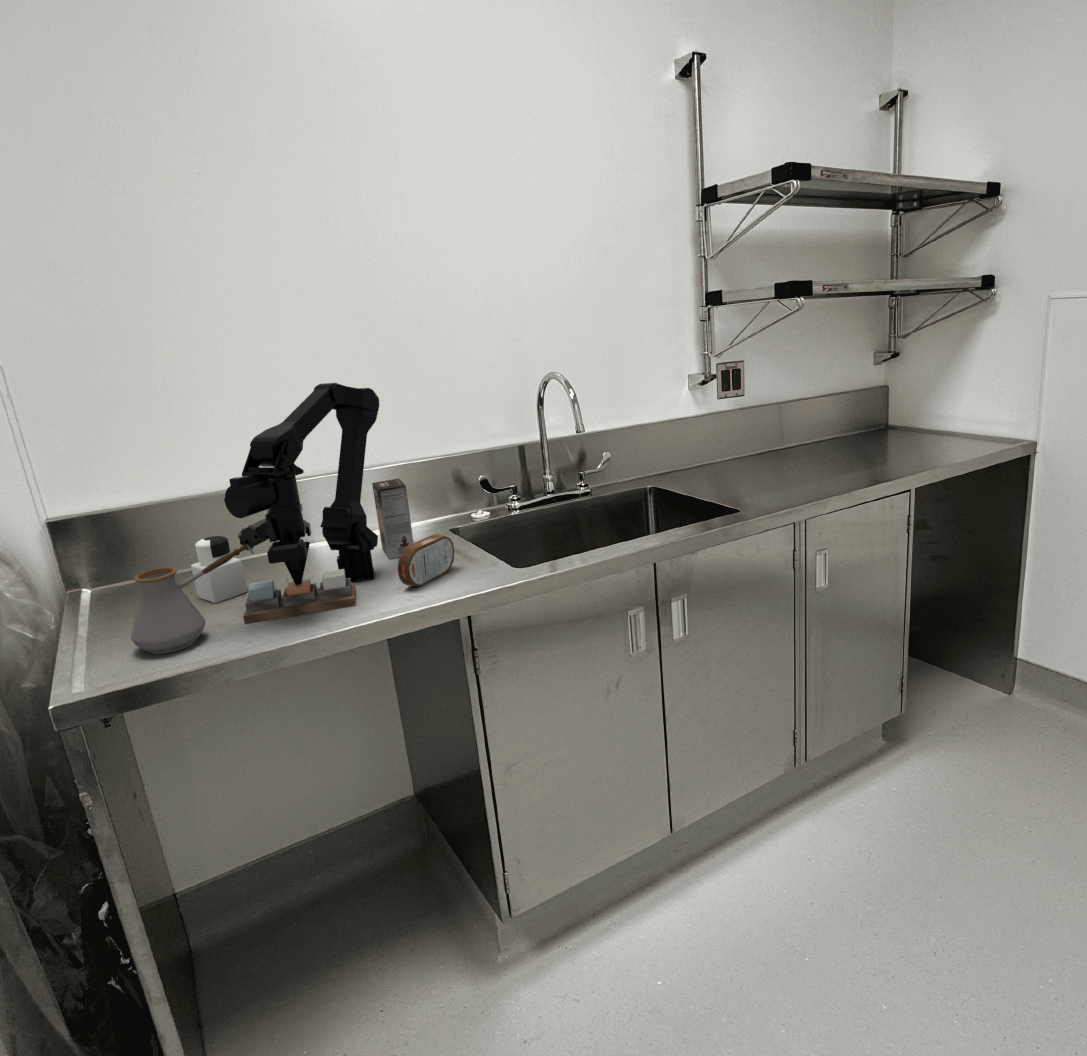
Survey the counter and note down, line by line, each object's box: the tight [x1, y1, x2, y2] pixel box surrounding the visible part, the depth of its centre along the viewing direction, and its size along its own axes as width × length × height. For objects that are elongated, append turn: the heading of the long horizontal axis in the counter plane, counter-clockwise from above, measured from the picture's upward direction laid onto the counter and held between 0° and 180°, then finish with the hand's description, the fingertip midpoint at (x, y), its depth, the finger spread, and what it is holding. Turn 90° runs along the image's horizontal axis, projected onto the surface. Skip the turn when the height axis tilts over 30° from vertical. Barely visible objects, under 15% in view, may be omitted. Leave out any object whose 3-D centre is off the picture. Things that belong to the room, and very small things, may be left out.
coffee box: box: [371, 478, 415, 560], centre depth 165 cm, size 9×6×16 cm
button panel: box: [242, 578, 357, 625], centre depth 138 cm, size 20×8×3 cm, turn 104°
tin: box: [397, 533, 455, 588], centre depth 146 cm, size 15×3×8 cm, turn 149°
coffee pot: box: [130, 544, 255, 655], centre depth 126 cm, size 21×12×15 cm, turn 115°
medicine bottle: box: [190, 535, 248, 604], centre depth 147 cm, size 7×7×12 cm
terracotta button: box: [286, 579, 312, 596], centre depth 137 cm, size 4×4×3 cm
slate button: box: [247, 579, 276, 602], centre depth 136 cm, size 4×4×3 cm
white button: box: [321, 569, 347, 590], centre depth 138 cm, size 4×4×3 cm
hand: (298, 584), depth 137 cm, fingers closed, pressing on terracotta button
